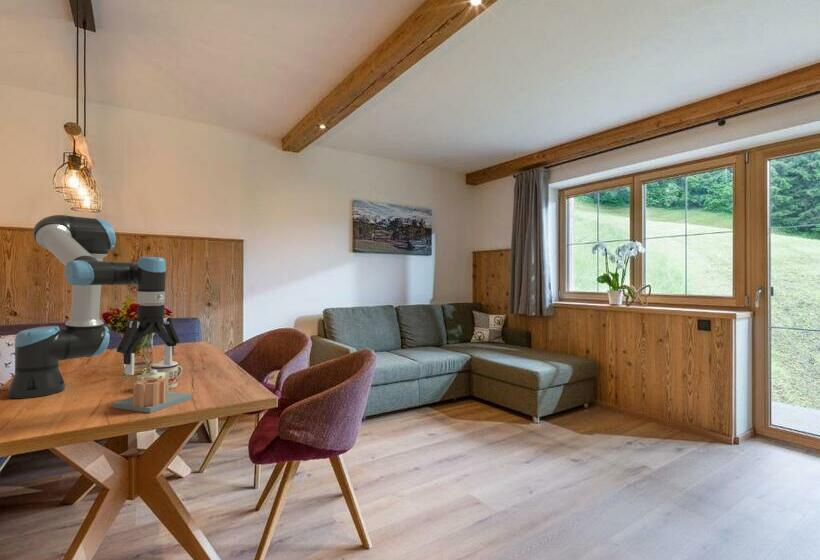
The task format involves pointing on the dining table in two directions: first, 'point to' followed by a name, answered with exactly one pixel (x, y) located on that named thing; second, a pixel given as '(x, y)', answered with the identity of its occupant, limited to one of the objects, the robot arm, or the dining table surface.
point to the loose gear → (149, 392)
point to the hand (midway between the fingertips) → (149, 369)
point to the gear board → (170, 400)
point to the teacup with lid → (168, 371)
